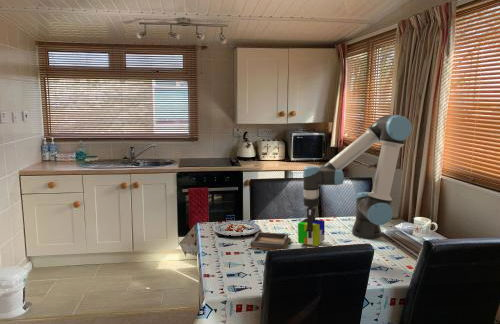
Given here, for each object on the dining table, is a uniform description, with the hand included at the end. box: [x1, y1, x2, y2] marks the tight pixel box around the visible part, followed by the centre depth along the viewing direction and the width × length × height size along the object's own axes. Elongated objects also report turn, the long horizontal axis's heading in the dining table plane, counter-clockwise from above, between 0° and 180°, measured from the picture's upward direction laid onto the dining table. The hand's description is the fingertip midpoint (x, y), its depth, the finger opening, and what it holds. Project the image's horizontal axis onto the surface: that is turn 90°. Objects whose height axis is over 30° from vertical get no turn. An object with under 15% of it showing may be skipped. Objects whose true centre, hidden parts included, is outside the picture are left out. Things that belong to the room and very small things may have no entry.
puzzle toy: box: [297, 217, 326, 247], centre depth 192 cm, size 10×10×10 cm
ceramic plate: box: [213, 220, 261, 237], centre depth 215 cm, size 26×26×3 cm
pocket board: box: [247, 231, 291, 251], centre depth 194 cm, size 18×18×3 cm
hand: (311, 239), depth 193 cm, fingers closed on puzzle toy, 11 cm apart
